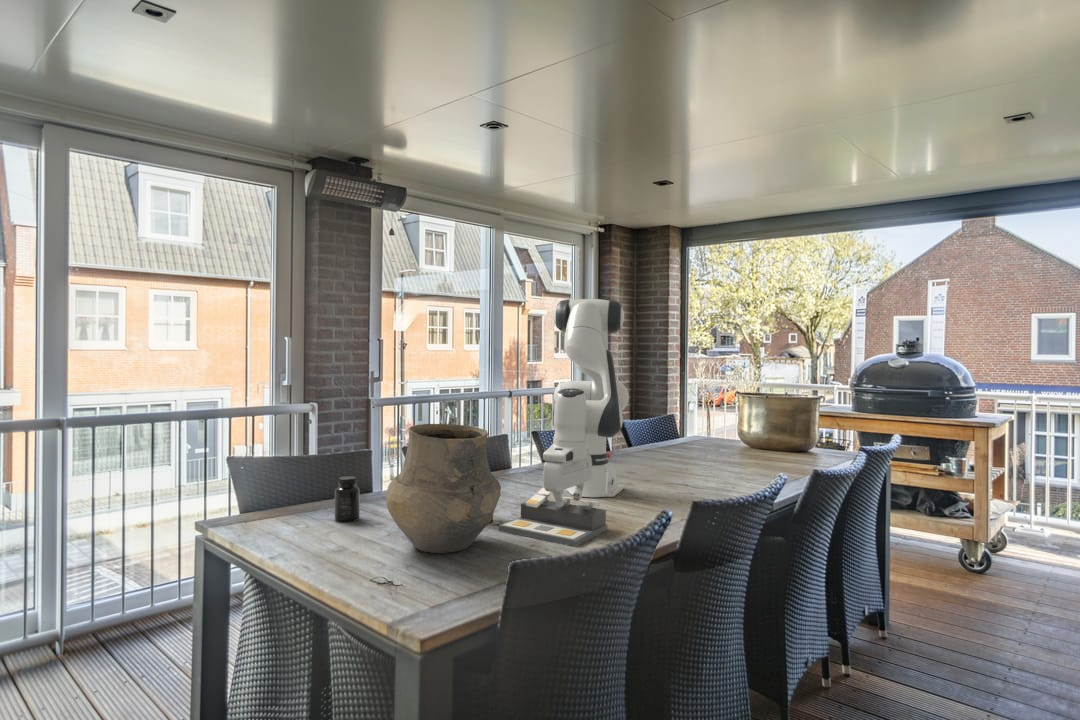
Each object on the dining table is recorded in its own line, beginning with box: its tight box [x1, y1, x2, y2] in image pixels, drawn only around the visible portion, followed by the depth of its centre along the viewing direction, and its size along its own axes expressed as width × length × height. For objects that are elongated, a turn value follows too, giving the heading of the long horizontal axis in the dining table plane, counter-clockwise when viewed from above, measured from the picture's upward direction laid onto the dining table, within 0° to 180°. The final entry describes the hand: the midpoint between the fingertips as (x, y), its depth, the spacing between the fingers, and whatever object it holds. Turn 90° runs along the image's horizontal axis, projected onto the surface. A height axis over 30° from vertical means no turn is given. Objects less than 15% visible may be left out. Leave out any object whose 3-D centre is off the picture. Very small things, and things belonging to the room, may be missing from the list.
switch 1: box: [525, 486, 553, 508], centre depth 182 cm, size 11×4×2 cm, turn 148°
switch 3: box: [570, 499, 601, 510], centre depth 175 cm, size 11×4×2 cm, turn 148°
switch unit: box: [498, 500, 608, 548], centre depth 175 cm, size 18×24×6 cm
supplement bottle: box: [334, 475, 361, 523], centre depth 182 cm, size 7×7×12 cm
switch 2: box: [548, 495, 574, 507], centre depth 179 cm, size 11×4×2 cm, turn 148°
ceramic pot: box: [385, 423, 502, 554], centre depth 159 cm, size 28×28×30 cm
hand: (568, 503), depth 167 cm, fingers open, 8 cm apart
